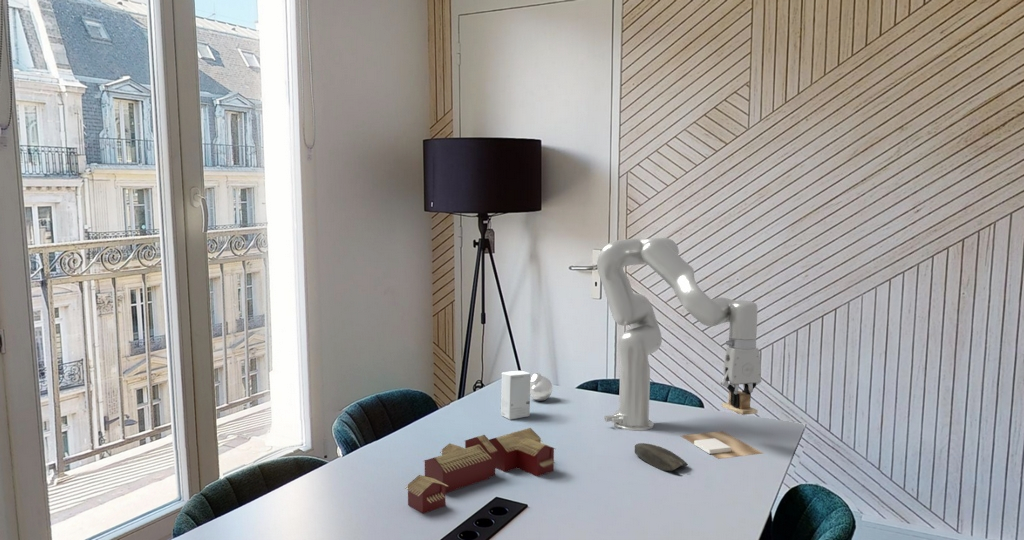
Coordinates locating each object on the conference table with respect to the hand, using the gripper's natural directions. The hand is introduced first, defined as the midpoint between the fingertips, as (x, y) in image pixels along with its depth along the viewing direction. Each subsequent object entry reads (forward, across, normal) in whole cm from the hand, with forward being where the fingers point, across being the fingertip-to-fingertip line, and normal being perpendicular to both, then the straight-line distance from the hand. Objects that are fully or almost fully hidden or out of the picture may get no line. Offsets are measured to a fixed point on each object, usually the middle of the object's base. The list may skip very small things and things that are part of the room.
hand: (740, 405), depth 207 cm
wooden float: (+2, 0, 0) cm, 2 cm away
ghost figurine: (+13, -39, +63) cm, 75 cm away
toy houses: (+13, -80, 0) cm, 81 cm away
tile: (+12, -9, +5) cm, 15 cm away
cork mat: (+13, -4, +3) cm, 14 cm away
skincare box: (+13, -53, +48) cm, 73 cm away
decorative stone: (+13, -29, -4) cm, 32 cm away
